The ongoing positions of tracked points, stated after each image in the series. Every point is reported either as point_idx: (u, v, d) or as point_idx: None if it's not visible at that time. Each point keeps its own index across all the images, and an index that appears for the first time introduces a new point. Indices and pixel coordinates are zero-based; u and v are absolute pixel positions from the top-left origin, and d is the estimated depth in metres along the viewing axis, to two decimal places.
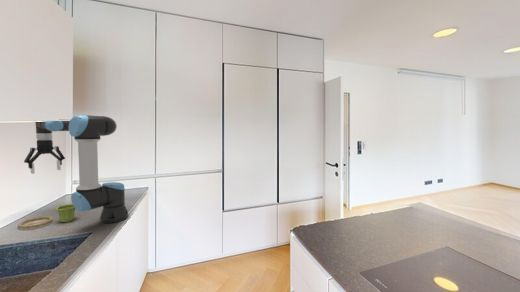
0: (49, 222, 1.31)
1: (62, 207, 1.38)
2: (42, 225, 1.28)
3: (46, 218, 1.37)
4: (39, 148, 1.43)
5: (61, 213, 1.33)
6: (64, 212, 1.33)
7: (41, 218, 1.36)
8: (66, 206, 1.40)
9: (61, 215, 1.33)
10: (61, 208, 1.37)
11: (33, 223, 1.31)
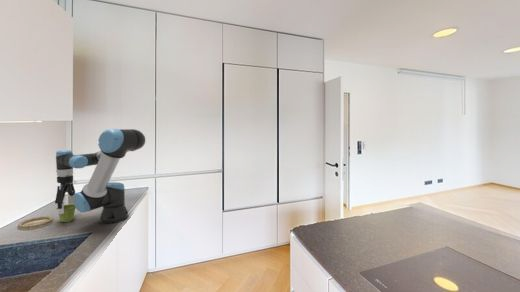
0: (49, 222, 1.31)
1: None
2: (42, 225, 1.28)
3: (46, 218, 1.37)
4: (65, 185, 1.33)
5: None
6: (64, 212, 1.33)
7: (41, 218, 1.36)
8: (66, 206, 1.40)
9: (61, 215, 1.33)
10: None
11: (33, 223, 1.31)
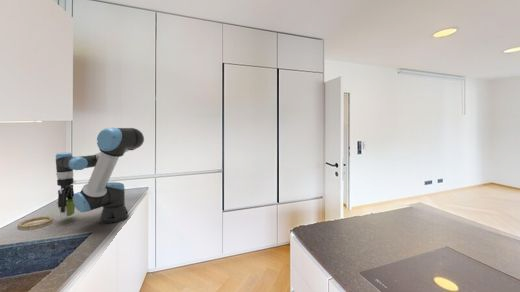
0: (49, 222, 1.31)
1: None
2: (42, 225, 1.28)
3: (46, 218, 1.37)
4: (65, 188, 1.33)
5: None
6: None
7: (41, 218, 1.36)
8: (66, 201, 1.39)
9: None
10: None
11: (33, 223, 1.31)
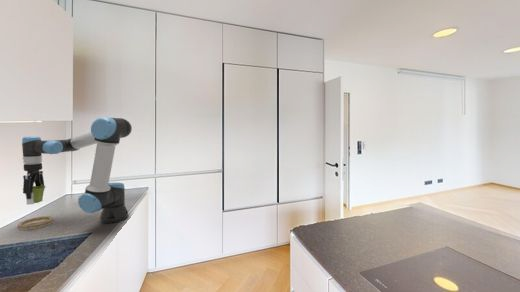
0: (49, 222, 1.31)
1: None
2: (42, 225, 1.28)
3: (46, 218, 1.37)
4: (32, 173, 1.26)
5: None
6: None
7: (41, 218, 1.36)
8: (35, 187, 1.32)
9: None
10: None
11: (33, 223, 1.31)
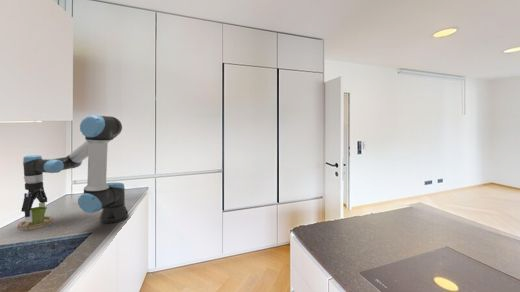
0: (49, 222, 1.31)
1: (31, 209, 1.32)
2: (42, 225, 1.28)
3: (46, 218, 1.37)
4: (33, 192, 1.27)
5: None
6: (32, 215, 1.27)
7: None
8: (36, 208, 1.33)
9: None
10: None
11: None
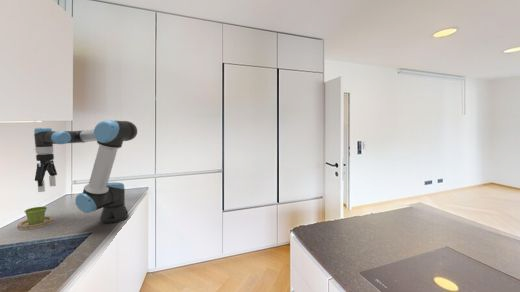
0: (49, 222, 1.31)
1: (31, 209, 1.32)
2: (42, 225, 1.28)
3: (46, 218, 1.37)
4: (45, 163, 1.30)
5: (29, 216, 1.27)
6: (32, 215, 1.27)
7: None
8: (36, 208, 1.33)
9: (29, 218, 1.27)
10: (30, 210, 1.31)
11: None
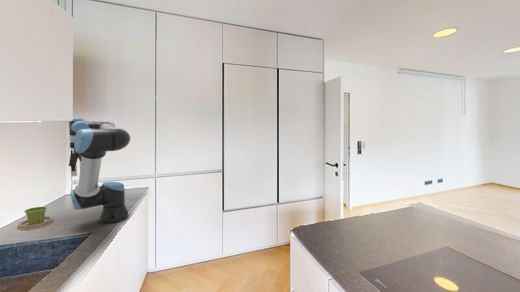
0: (49, 222, 1.31)
1: (31, 209, 1.32)
2: (42, 225, 1.28)
3: (46, 218, 1.37)
4: None
5: (29, 216, 1.27)
6: (32, 215, 1.27)
7: None
8: (36, 208, 1.33)
9: (29, 218, 1.27)
10: (30, 210, 1.31)
11: None
